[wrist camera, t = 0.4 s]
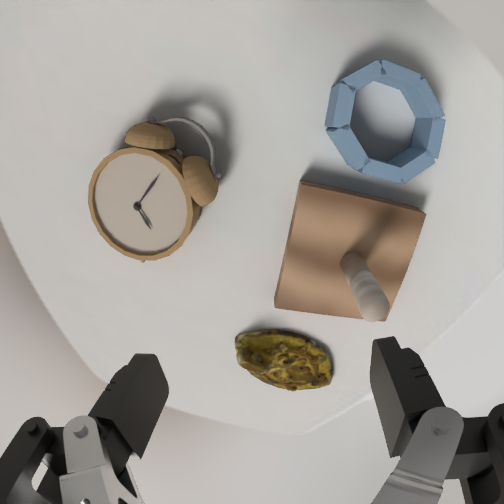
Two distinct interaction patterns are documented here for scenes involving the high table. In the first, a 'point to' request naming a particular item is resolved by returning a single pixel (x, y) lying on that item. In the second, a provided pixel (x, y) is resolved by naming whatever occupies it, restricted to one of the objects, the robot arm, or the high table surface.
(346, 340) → the high table surface
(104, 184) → the alarm clock
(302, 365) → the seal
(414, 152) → the rubber loop
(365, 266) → the wooden peg stand
